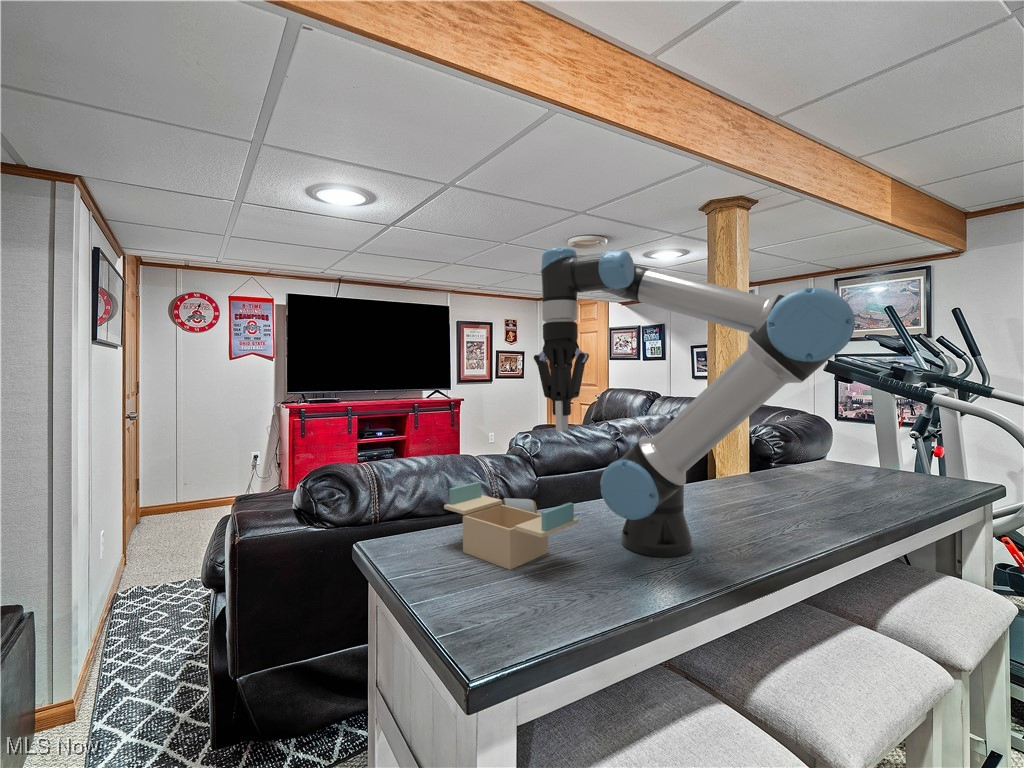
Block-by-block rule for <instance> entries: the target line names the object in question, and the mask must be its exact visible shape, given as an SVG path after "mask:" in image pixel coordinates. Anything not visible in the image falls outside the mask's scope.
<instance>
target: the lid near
mask: <svg viewBox="0 0 1024 768" xmlns="http://www.w3.org/2000/svg"><path fill="white" fill-rule="evenodd" d="M574 511H575V507H574V502H570V501H569V502H567V503H563V504H561V505H557V506H555V507H553V508H550V509H547V510H544V511H541V513H540V514H541V517H538V518H535V519H533V520H530V521H527V522H524V523H521V524H518V525H516V526H515V530H517V531H521V532H524V533H527V534H531V535H534V536H537V537H541V538H542V537H545V536H547V535H548V536H550V535H552V534H555V533H557V532H559V531H562V530H564V529H567V528H570V527H572V526H575V525H577V524H579V518H577V517H576V518H575V517H574V515H575V513H574Z"/></svg>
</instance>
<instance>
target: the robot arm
mask: <svg viewBox="0 0 1024 768" xmlns="http://www.w3.org/2000/svg"><path fill="white" fill-rule="evenodd" d="M540 274H541V282H542V283H541V289H542V290H541V291H542V302H541V303H542V304H541V305H542V306H541V307H542V309H541V310H542V315H541V316H542V317H541V318H542V321H543V322H544V323H543V325H542V339H543V343H544V344H543V347H542V351H541V352H539V354H535V355H534V356H533V360H534V361H535V364H536V365H537V368H538V374H539V378H540V382H541V386H542V391H543V396H544V397H545V398H547V399H550V400H551V402H552V407H551V408H552V415H553V416H555V431H556V432H565V431H569V416H571V414H572V400H573V399H575V398H578V397H579V396H580V392H581V387H582V382H583V377H584V371H585V367H586V363H587V362H588V360H589V357H590V355H589V353H587V352H584V351H582V350H581V349H580V346H579V344H578V337H579V335H578V334H579V332H578V331H579V329H578V323H577V322H576V320H578V293H585V292H587V293H588V292H597V291H600V292H604V293H607V294H610V295H614V296H617V297H619V298H621V299H626V300H631V301H635V302H639V303H642V304H646V305H650V306H653V307H656V308H660V309H663V310H667V311H671V312H673V313H677V314H681V315H685V316H688V317H691V318H696V319H699V320H701V321H706V322H710V323H712V324H713V323H714V324H716V325H720V326H722V327H723V326H724V327H727V328H730V329H734V330H737V331H740V332H745V333H748V334H749V335H747V346H746V347H747V348H746V350H745V351H744V352H743V353H741V354H740V355H739V356H738V357H737V358H736V359H735V360H734V361H733V362H732V363H730V365H729V366H728V367H726V368H725V370H724V371H723V372H721V374H720V375H718V376H717V377H716V378H715V379H714V380H713V381H712V382H710V384H709V385H707V387H705V389H704V390H703V391H702V392H700V393H699V394H698V395H697V396H696V398H694V399H693V400H692V401H691V402H690V403H689V404H688V405H686V407H684V409H682V410H681V411H680V412H679V413H678V415H677V414H676V416H675V417H674V418H673V419H672V420H671V421H670V422H669V423H668V424H667V425H666V426H665V427H664V428H663V429H662V430H661V431H660V432H658V433H657V434H656V435H655V436H654V437H652V438H651V437H650V438H649V437H648V438H647V437H642V438H641V439H639V440H638V441H633V442H631V443H630V445H629V449H628V451H627V452H626V453H624V455H622V457H621V458H619V459H617V460H614V461H613V462H611V463H610V464H608V465H607V467H606V468H605V469H604V471H603V472H602V474H601V478H600V483H599V485H600V493H601V496H602V498H603V501H604V503H605V504H606V506H607V508H609V510H611V511H612V513H614V514H615V515H617V516H619V517H620V518H622V519H625V522H624V525H623V528H622V531H621V545H622V546H623V547H625V548H626V549H627V550H629V551H631V552H634V553H637V554H641V555H644V556H650V557H658V558H673V557H675V558H676V557H680V556H684V555H686V554H689V553H690V552H692V549H693V547H692V546H693V540H692V539H693V538H692V535H691V532H690V529H689V525H688V523H687V520H686V516H685V514H684V513H685V511H684V509H685V508H684V507H685V506H684V505H685V504H684V503H685V501H684V500H685V498H684V497H685V496H684V495H685V484H686V483H687V471H688V470H690V469H691V467H693V466H694V465H695V464H696V463H697V462H699V460H701V459H702V458H703V457H705V456H706V455H707V454H708V453H709V452H710V451H711V450H712V449H713V448H715V447H716V446H718V444H719V443H721V441H723V440H724V439H725V438H726V437H727V436H729V435H730V434H731V433H732V432H733V431H734V430H735V429H736V428H738V426H739V425H741V424H742V423H743V422H745V420H746V419H748V418H749V417H750V416H751V415H752V414H753V413H755V412H756V411H757V410H758V409H759V408H760V407H761V406H762V405H763V404H765V403H766V402H767V401H768V400H770V398H772V397H773V396H774V395H775V394H776V393H777V392H779V390H781V389H783V387H785V385H787V384H791V383H792V384H797V383H799V384H800V383H801V384H802V383H803V382H804V381H806V380H807V379H808V378H809V377H810V376H811V375H812V374H814V373H815V371H817V370H818V369H820V368H821V367H822V366H823V365H824V364H825V363H826V362H827V361H829V360H830V359H831V358H832V357H833V356H835V355H837V354H838V353H840V352H841V351H842V350H843V349H844V348H845V347H846V346H847V345H848V343H849V342H850V341H851V338H852V337H853V334H854V331H855V325H856V322H855V321H856V320H855V314H854V312H853V310H852V308H851V306H850V304H849V303H848V301H846V300H845V299H844V298H843V297H842V296H840V295H838V294H837V293H835V292H834V291H832V290H828V289H826V288H820V287H807V288H805V287H804V288H801V289H798V290H794V291H791V292H790V293H788V294H786V295H783V294H779V293H777V294H775V295H774V296H772V297H768V296H765V295H760V294H756V293H751V292H747V291H743V290H739V289H735V288H730V287H726V286H722V285H719V284H715V283H710V282H707V281H701V280H697V279H693V278H690V277H685V276H681V275H677V274H673V273H668V272H665V271H660V270H657V269H651V268H647V267H644V266H641V265H637V264H635V263H634V261H633V257H632V256H631V254H630V252H629V251H627V250H625V249H620V250H613V249H612V250H607V251H604V252H598V253H593V254H586V255H580V256H577V252H576V250H575V249H574V248H571V247H553V248H549V249H547V250H545V251H544V252H543V253H542V256H541V270H540ZM574 359H575V361H574ZM573 361H574V364H573ZM548 362H549V363H548Z"/></svg>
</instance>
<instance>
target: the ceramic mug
mask: <svg viewBox="0 0 1024 768" xmlns="http://www.w3.org/2000/svg"><path fill="white" fill-rule="evenodd" d="M502 505H506V506H510V507H514V508H518V509H521V510H525V511H529V512H533V513H537V514H538V508H537V504H536V501H535V500H533V499H530V498H509V497H508V498H507V497H504V498H503V499H502Z"/></svg>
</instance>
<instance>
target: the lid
mask: <svg viewBox="0 0 1024 768" xmlns="http://www.w3.org/2000/svg"><path fill="white" fill-rule="evenodd" d="M448 494H449V496H448V498H449V499H448V500H449V502H448V503H447V504H444V505H443V509H444V510H447V511H451V512H454V513H458V514H461V515H463V516H464V515H467V514H470V513H474V512H477V511H480V510H484V509H487V508H490V507H494V506H497V505H500V504H502V502H503V499H499V498H496V497H492V496H488V495H484V494H482V482H480V481H475V482H471V483H468V484H464V485H458V486H455V487H451V488H449V489H448Z"/></svg>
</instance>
